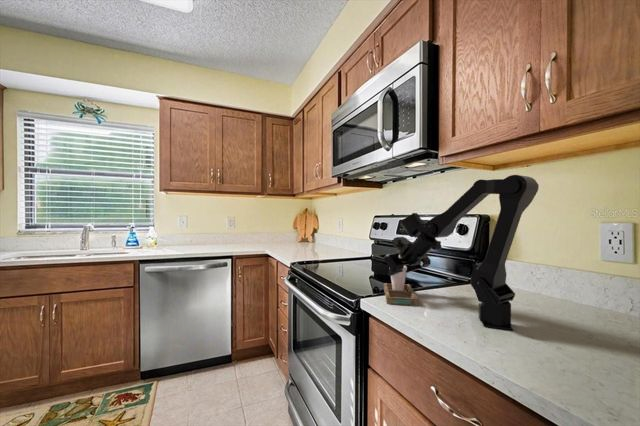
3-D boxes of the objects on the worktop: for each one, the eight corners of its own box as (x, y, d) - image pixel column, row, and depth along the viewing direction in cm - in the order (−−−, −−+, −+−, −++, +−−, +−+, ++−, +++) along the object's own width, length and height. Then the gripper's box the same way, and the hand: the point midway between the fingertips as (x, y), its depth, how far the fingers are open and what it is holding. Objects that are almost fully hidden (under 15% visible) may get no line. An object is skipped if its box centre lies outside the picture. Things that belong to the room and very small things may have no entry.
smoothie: (409, 295, 99) (409, 256, 99) (391, 295, 99) (391, 256, 99) (404, 290, 105) (404, 253, 105) (387, 290, 105) (387, 253, 105)
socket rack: (383, 288, 108) (383, 283, 108) (409, 289, 106) (409, 284, 106) (386, 304, 89) (387, 297, 89) (418, 305, 88) (418, 299, 88)
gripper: (423, 229, 103) (400, 254, 113) (387, 230, 94) (365, 258, 103) (442, 252, 97) (416, 278, 106) (406, 257, 87) (381, 284, 96)
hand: (395, 274), depth 103 cm, fingers closed on smoothie, 6 cm apart
